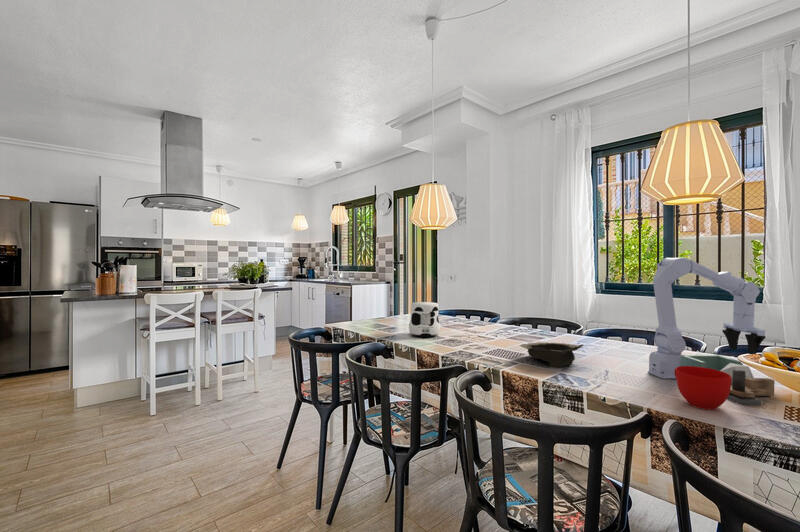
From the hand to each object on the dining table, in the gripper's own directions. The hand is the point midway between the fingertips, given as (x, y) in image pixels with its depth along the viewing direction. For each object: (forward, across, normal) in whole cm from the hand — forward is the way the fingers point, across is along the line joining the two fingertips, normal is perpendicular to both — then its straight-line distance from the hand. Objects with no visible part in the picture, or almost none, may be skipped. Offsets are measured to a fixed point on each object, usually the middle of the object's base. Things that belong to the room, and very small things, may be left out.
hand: (742, 351), depth 139 cm
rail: (+10, -16, +20) cm, 28 cm away
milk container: (+11, +76, +110) cm, 134 cm away
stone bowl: (+10, +23, +62) cm, 66 cm away
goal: (+10, +1, +11) cm, 15 cm away
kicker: (+10, -20, +15) cm, 27 cm away
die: (+10, -10, +11) cm, 18 cm away
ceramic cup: (+10, -24, +36) cm, 44 cm away
